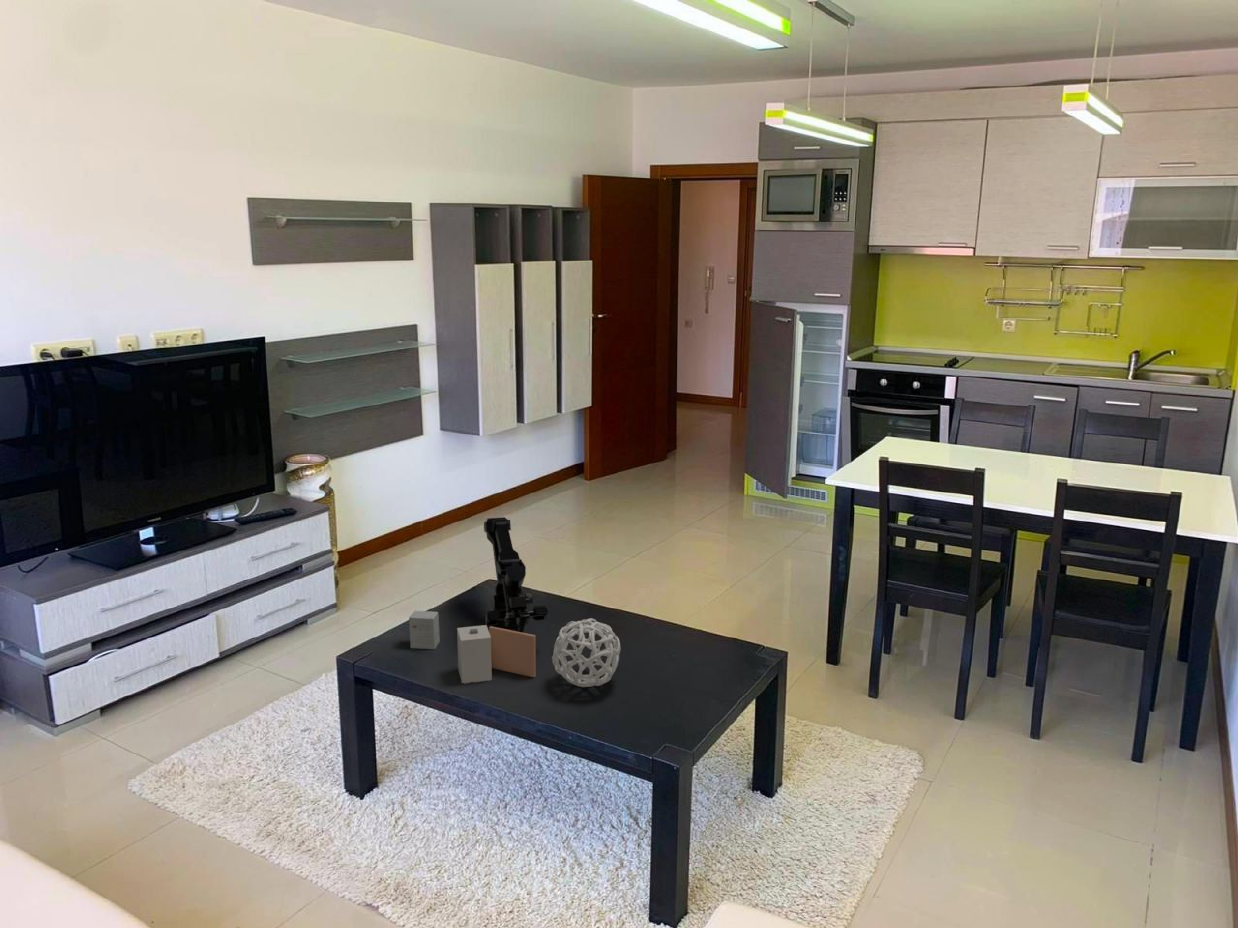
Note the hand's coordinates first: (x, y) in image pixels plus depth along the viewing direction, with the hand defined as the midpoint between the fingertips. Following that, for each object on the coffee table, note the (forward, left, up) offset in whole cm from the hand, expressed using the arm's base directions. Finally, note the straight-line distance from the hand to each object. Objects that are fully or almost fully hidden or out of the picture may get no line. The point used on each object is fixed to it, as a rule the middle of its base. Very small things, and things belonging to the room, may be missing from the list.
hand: (520, 641), depth 279 cm
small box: (+14, -30, -7) cm, 34 cm away
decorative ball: (-4, +24, -7) cm, 25 cm away
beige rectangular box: (+15, -3, -7) cm, 17 cm away
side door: (+6, +4, -6) cm, 10 cm away
